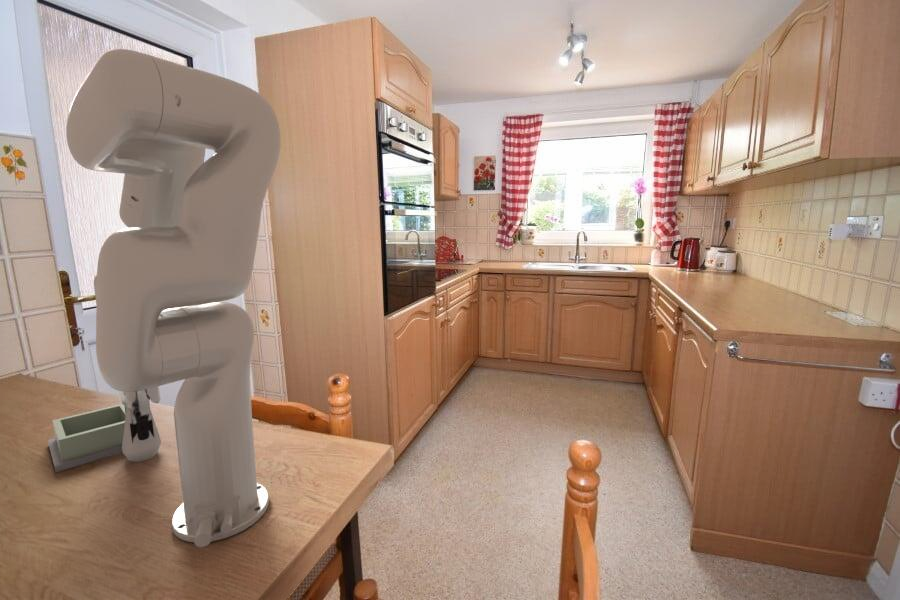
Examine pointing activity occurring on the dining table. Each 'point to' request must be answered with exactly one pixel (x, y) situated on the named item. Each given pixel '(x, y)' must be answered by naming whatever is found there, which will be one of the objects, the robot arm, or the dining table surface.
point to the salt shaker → (139, 442)
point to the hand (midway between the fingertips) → (140, 437)
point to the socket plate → (87, 437)
